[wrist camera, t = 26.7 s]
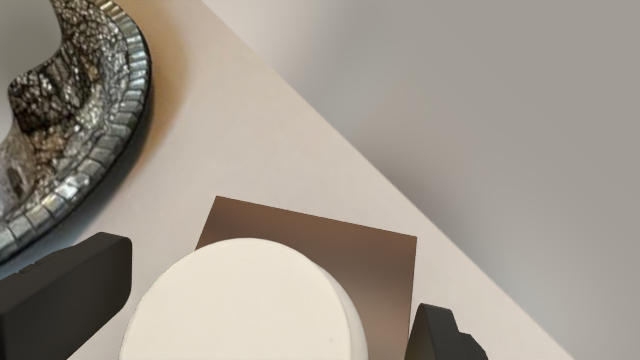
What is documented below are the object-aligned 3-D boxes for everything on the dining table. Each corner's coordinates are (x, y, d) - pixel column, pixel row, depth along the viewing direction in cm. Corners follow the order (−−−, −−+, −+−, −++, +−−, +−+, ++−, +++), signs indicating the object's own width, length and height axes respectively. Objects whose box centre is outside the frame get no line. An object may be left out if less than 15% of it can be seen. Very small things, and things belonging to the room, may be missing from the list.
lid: (219, 201, 22) (216, 195, 21) (413, 241, 21) (417, 236, 20) (97, 515, 15) (86, 521, 14) (380, 597, 14) (384, 608, 13)
